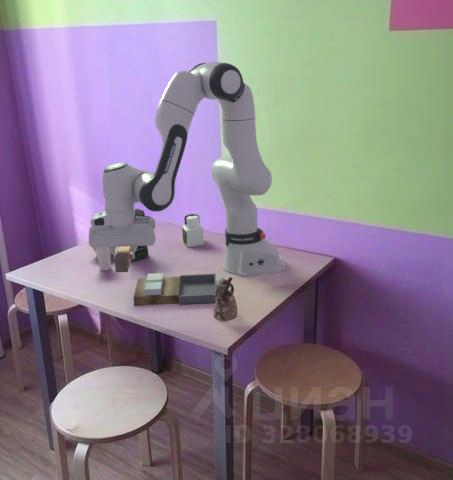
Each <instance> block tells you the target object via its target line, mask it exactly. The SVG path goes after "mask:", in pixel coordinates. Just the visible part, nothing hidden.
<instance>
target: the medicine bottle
mask: <svg viewBox="0 0 453 480" xmlns="http://www.w3.org/2000/svg"><path fill="white" fill-rule="evenodd" d="M200 221H201V220H200V215H198V214H195V213H189V214H186V215H185V216H184V225H182V226H181V229H182V231H181V233H182V242H183V243H184V245H185V247H186V248H191V247H198V246H204V245H205V242H204V241H205V240H204V239H205V238H204V228H203V227H202V226H201V223H200Z"/></svg>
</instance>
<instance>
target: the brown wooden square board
mask: <svg viewBox="0 0 453 480" xmlns="http://www.w3.org/2000/svg"><path fill="white" fill-rule="evenodd" d="M163 278H164V279H163V285H162V292H161V295H145V285H146V283H147V277H143V278H137V281H136V287H135V290H134V294H133V298H132V299H133V306H134V307H139V306H140V307H141V306H144V307H145V306H158V305H159V306H160V305H162V306H163V305H179V296H180V284H181V281H180V276H163Z"/></svg>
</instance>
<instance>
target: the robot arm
mask: <svg viewBox="0 0 453 480" xmlns="http://www.w3.org/2000/svg"><path fill="white" fill-rule="evenodd" d="M204 98H205V99H209V100H213V101H214V100H218V102H219V104H220V108H221V114H220V115H221V136H222V144H223V145H224V147H225V148H226V149H227V151H228V152H229V155H230V156H228V157H227V156H226V157H224V156H223V157H220V158H218V159H216V160H215V161H214V163H213V164H212V167H211V178H212V179H213V181H214V182H215V183H216V185H217V187H218V190H219V192H220V195H221V199H222V202H223V206H224V212H225V229H224V244H225V255H224V259H223V264H222V268H223V269H224V270H225V271H226V272H228V273H232V274H236V275H238V276H240V277H244V278H245V277H253V276H260V275H268V274H276V273H282V272H284V271H285V270H286V263H285V260H284V258H282V257H281V256H280V254H279V251H278V249H277V247H276V246H275V245H274V244H272V242H270V241H268V240H266V233H265V232H264V230H262V228H261V227H259V228H258V209H257V205H256V204H255V202H254V201H253V200H252V198H251V196H262V195H265V194H266V193H267V192H268V191H269V190H270V188H271V187H272V182H273V176H272V172H271V170H270V169H269V168H268V167H267V166H266V164H265V163H264V160H263V158H262V156H261V152H260V149H259V147H258V140H257V131H256V130H257V128H256V125H257V124H256V109H255V100H254V96H253V91H252V89H251V87H250V86H249V85H248V84H246V83H245V82H244V79H243V75H242V73H241V71H240V70H239V69H238V68H237V67H236V66H235V65H233V64H231V63H228V62H219V61H212V62H202V63H198V64H196V65H195V66H193V67H192V68H191V69H190V70H189V71H187V70H180V71H177V72H175V73H174V74H173V76H172V77H171V79H170V80H169V82H168V84H167V86H166V87H165V89H164V91H163V93H162V96H161V98H160V100H159V102H158V105H157V108H156V112H155V118H154V123H155V126H156V129H157V130H158V132H159V133H160V136H161V140H162V147H161V151H160V155H159V158H158V161H157V164H156V167H155V171H154V173H153V172H151V171H148V170H144V169H140V168H137V167H133V166H131V165H130V164H129V163H127V162H116V163H112V164H110V165H108V166H107V167H104V168H105V169H103V172H102V195H103V197H104V199H105V200H104V202H105V203H104V210H103V211H100V212H97V213H94V214H93V215H92V217H91V218H90V225H91V226H90V228H89V230H88V245H89V246H90V247H91V248H92V249H93V248H95V247H109V251H110V252H111V253H112V256H113V257H112V258H113V259H114V258H115V256H116V254H117V252H116V249H115V250H114V247H116V248H117V247H118V248H119V247H124V246H132V249H134V250H133V252H130V254H129V259H134V258H135V254H134V253H135V251H136V250H137V246H147V247H149V246H150V247H151V246H153V245H154V244H155V243H156V235H155V234H156V233H155V228H156V221H155V219H154V218H153V217H151V216H150V215H145V216H135V204H136V203H140V204H141V205H143V206H144V207H145V208H146V209H147V210H149V211H151V212H162V211H164V210H166V209H167V208H168V207H170V206H171V204H172V203H173V201H174V199H175V194H176V193H175V191H176V190H175V189H176V187H175V185H176V178H177V176H178V171H179V168H180V165H181V161H182V158H183V156H184V152H185V149H186V145H187V140H188V135H189V130H190V126H191V124H192V122H193V119H194V116H195V113H196V112H197V108H198V106H199V104H200V102H201V101H203V99H204Z"/></svg>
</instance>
